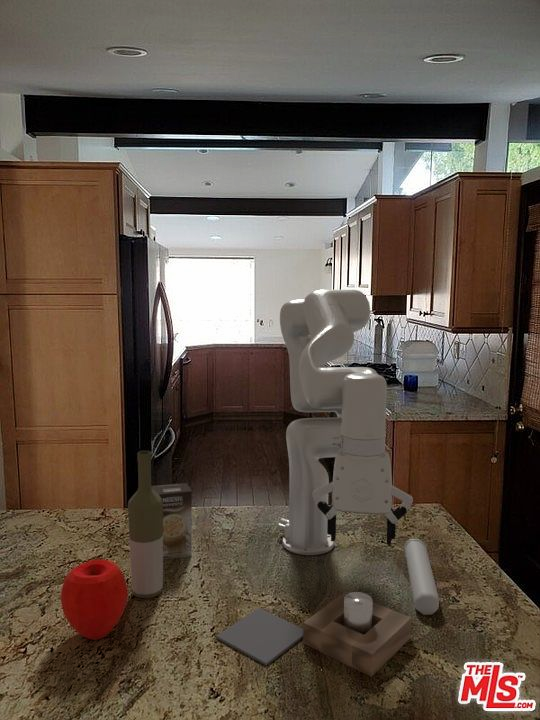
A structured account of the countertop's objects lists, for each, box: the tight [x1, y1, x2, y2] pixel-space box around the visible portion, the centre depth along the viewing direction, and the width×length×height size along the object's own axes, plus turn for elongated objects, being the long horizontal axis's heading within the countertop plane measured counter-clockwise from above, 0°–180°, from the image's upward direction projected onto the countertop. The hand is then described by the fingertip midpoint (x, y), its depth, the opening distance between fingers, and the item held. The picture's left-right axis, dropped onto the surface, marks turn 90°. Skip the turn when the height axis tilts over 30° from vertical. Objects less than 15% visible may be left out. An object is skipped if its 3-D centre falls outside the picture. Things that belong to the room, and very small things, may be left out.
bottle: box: [127, 450, 164, 599], centre depth 121 cm, size 7×7×30 cm
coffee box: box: [151, 482, 193, 561], centre depth 139 cm, size 9×6×16 cm
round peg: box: [344, 591, 374, 635], centre depth 106 cm, size 5×5×8 cm
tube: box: [403, 538, 440, 616], centre depth 126 cm, size 5×5×25 cm
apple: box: [60, 558, 128, 640], centre depth 108 cm, size 12×12×13 cm
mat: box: [215, 607, 303, 667], centre depth 108 cm, size 12×12×1 cm
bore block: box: [302, 591, 412, 678], centre depth 106 cm, size 14×14×4 cm
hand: (360, 540), depth 104 cm, fingers open, 9 cm apart
